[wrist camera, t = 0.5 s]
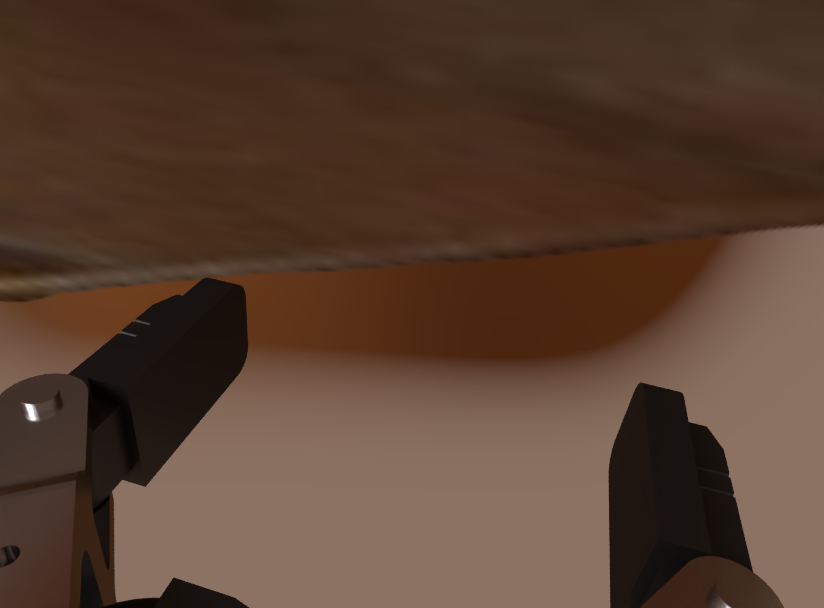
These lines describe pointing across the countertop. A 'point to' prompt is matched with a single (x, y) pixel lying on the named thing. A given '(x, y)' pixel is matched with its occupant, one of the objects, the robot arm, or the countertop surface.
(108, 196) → the countertop surface
